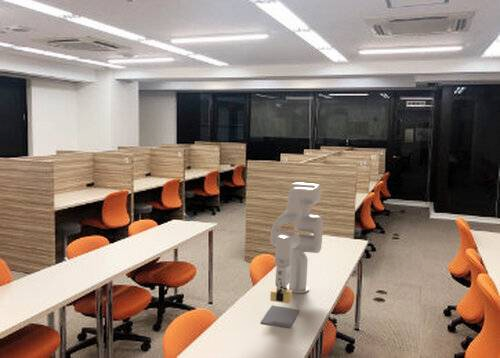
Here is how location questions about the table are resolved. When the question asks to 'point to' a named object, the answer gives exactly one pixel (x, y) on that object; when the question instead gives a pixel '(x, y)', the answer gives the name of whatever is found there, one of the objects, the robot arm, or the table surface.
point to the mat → (280, 316)
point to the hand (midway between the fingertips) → (281, 298)
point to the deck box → (286, 295)
